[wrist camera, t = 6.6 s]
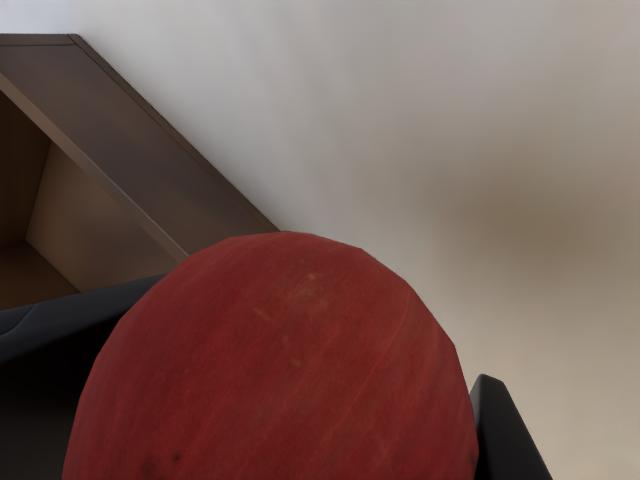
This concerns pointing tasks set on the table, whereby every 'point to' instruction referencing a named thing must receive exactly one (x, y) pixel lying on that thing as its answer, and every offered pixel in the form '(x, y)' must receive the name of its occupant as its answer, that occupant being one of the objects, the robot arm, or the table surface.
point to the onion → (276, 374)
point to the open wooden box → (96, 178)
